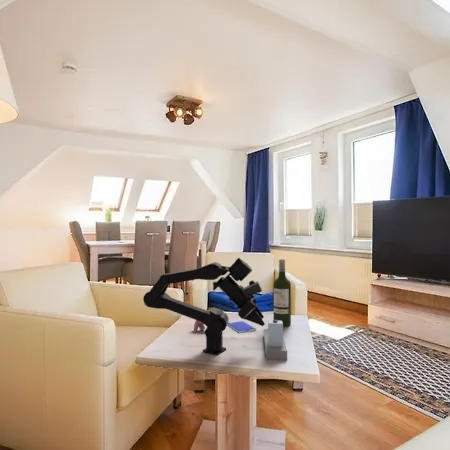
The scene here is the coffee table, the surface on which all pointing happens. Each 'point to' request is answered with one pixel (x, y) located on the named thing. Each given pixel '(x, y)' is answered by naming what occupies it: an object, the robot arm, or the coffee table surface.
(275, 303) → the wine bottle
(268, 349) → the power strip
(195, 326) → the video game controller
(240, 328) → the hard drive
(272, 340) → the light blue rectangular block
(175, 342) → the coffee table surface
